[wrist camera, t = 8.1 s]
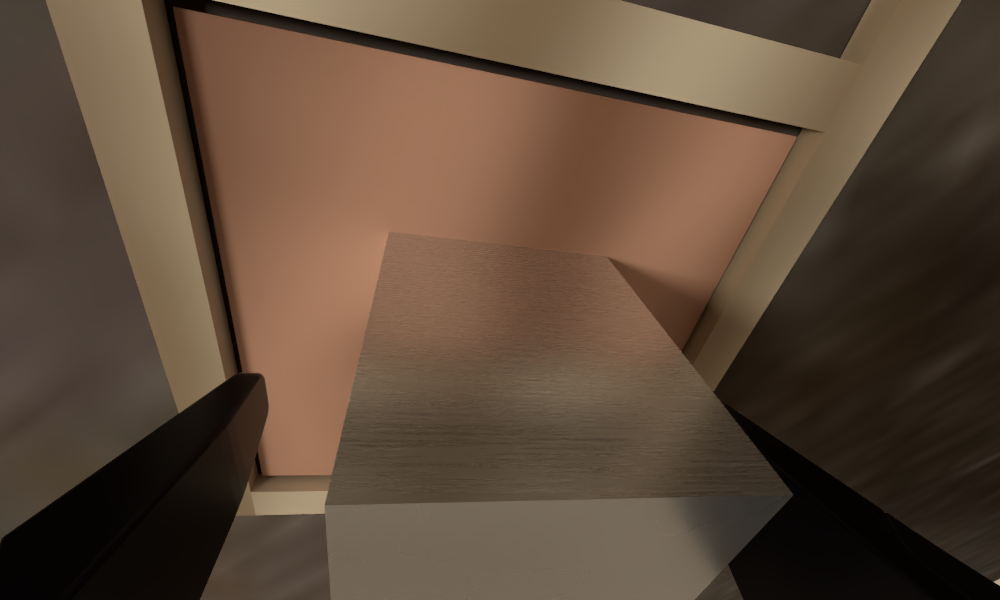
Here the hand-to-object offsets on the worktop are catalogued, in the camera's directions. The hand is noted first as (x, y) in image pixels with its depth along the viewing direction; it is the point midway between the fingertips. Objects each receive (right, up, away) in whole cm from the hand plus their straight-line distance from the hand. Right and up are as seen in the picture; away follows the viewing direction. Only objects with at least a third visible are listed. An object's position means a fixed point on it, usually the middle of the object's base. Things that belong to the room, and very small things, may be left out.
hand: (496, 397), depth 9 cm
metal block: (0, +1, +2) cm, 2 cm away
